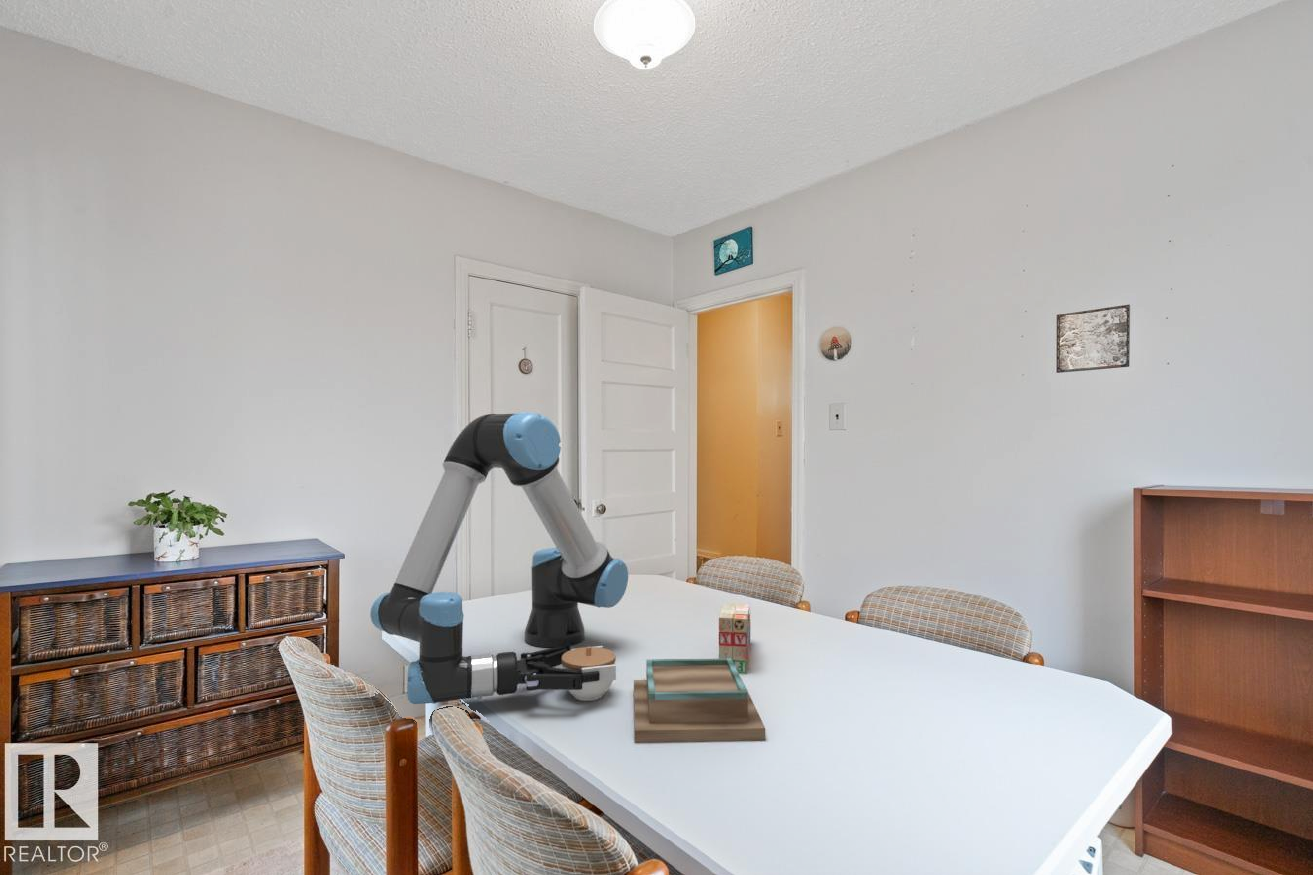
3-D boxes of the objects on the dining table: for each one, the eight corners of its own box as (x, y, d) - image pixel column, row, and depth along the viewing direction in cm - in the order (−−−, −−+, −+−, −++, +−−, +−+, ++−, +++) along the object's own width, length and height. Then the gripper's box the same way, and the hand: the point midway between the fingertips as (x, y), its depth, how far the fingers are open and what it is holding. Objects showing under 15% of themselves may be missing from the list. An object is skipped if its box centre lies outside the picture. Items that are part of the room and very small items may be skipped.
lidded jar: (608, 681, 129) (608, 636, 129) (621, 702, 119) (621, 653, 119) (557, 687, 125) (557, 641, 125) (566, 709, 115) (566, 659, 115)
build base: (633, 689, 124) (633, 655, 124) (741, 688, 125) (741, 653, 125) (634, 742, 102) (634, 700, 102) (765, 740, 103) (765, 698, 103)
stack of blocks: (725, 642, 155) (725, 593, 155) (750, 643, 154) (750, 594, 154) (718, 672, 134) (718, 616, 134) (747, 674, 133) (747, 617, 133)
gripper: (492, 672, 128) (596, 661, 134) (498, 720, 106) (622, 704, 112) (492, 636, 128) (596, 626, 134) (498, 676, 106) (622, 662, 112)
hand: (608, 661), depth 123 cm, fingers closed on lidded jar, 11 cm apart
